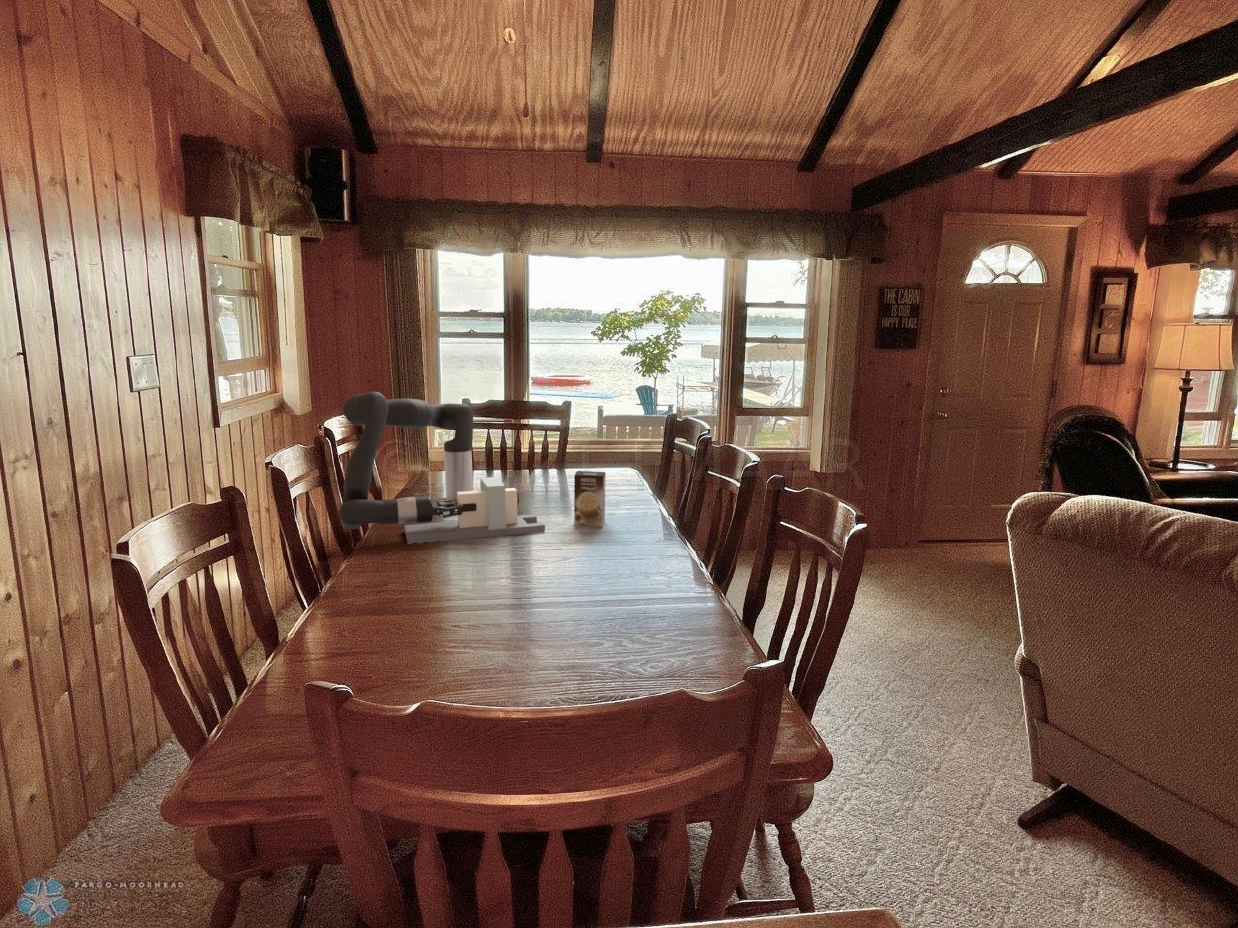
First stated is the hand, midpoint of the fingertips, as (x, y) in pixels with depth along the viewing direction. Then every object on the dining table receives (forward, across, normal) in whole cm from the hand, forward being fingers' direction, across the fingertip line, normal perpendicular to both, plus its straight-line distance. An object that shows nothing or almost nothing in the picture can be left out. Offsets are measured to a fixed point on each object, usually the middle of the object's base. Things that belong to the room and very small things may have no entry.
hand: (474, 505), depth 212 cm
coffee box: (+34, -3, +8) cm, 35 cm away
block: (+4, 0, +6) cm, 7 cm away
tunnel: (+5, 0, +6) cm, 8 cm away
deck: (0, 0, +8) cm, 8 cm away
